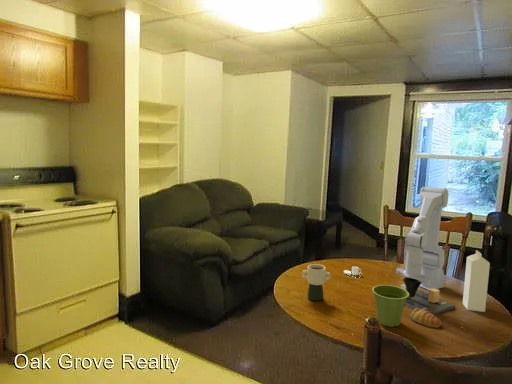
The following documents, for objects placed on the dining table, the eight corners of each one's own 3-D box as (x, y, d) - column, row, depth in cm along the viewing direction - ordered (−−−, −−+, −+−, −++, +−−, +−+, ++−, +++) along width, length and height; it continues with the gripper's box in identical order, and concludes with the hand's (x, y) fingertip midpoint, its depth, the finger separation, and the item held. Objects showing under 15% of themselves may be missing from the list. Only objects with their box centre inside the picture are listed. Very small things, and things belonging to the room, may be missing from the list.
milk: (467, 310, 135) (472, 253, 132) (462, 303, 141) (467, 248, 138) (485, 312, 134) (490, 254, 131) (479, 305, 140) (484, 250, 137)
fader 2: (433, 299, 141) (434, 288, 140) (438, 301, 139) (439, 290, 138) (428, 300, 139) (428, 289, 139) (433, 303, 137) (434, 291, 137)
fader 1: (405, 294, 145) (406, 283, 145) (410, 296, 143) (411, 285, 143) (400, 295, 144) (400, 284, 143) (405, 297, 142) (405, 286, 141)
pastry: (444, 325, 124) (445, 314, 123) (435, 331, 120) (436, 320, 119) (417, 314, 131) (418, 305, 131) (408, 320, 127) (409, 310, 126)
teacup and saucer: (341, 275, 171) (341, 266, 171) (350, 271, 177) (351, 263, 176) (357, 280, 165) (358, 271, 165) (366, 276, 170) (367, 267, 170)
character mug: (329, 296, 146) (330, 265, 144) (329, 303, 139) (330, 271, 137) (302, 293, 148) (303, 263, 146) (300, 300, 141) (301, 268, 139)
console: (407, 287, 156) (407, 284, 156) (455, 308, 137) (455, 304, 136) (381, 293, 149) (382, 290, 149) (428, 316, 130) (429, 312, 130)
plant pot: (367, 313, 131) (369, 283, 130) (401, 315, 130) (403, 285, 128) (374, 329, 119) (376, 297, 118) (411, 332, 118) (414, 299, 117)
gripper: (391, 259, 144) (389, 291, 145) (423, 270, 131) (420, 305, 133) (404, 256, 147) (401, 288, 149) (436, 267, 134) (433, 302, 136)
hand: (411, 296), depth 141 cm, fingers closed
